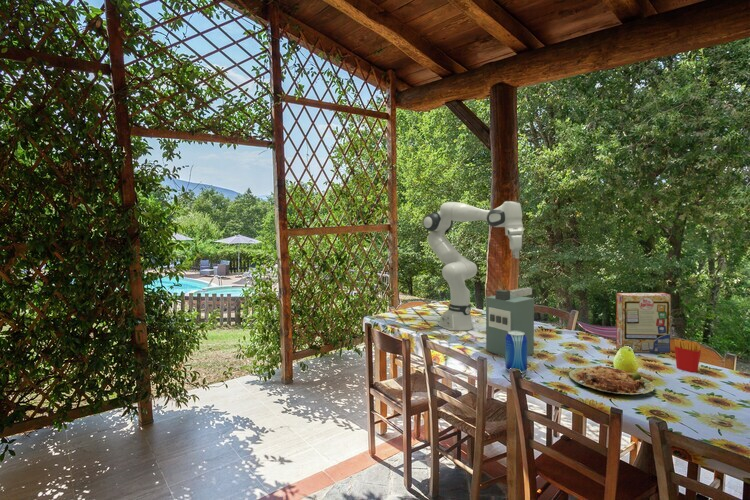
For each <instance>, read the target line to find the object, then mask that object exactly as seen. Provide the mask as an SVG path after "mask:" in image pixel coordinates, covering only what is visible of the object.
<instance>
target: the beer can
mask: <svg viewBox="0 0 750 500" xmlns="http://www.w3.org/2000/svg"><path fill="white" fill-rule="evenodd" d="M504 358H505V359H504V361H505V363H504V364H505V366H504V367H505V369H506V370H507V372H509V369H510V368H518V369H520V370H521V372H522V374H521V375H523V374H525V373H526V371H527V370H528V356H527V338H526V336H525V333H524V332H521V331H509V332H508V334H507V336H506V337H505V357H504Z"/></svg>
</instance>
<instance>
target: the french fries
mask: <svg viewBox="0 0 750 500" xmlns="http://www.w3.org/2000/svg"><path fill="white" fill-rule="evenodd" d="M673 341H674V344H675V346H674V353H675V354H674V355H675V364H676V369H678V370H681V371H685V372H689V373H695V374H696V373H698V371H699V365H700V358H701V353H702V350H701V343H700V344H699V343H697V342H696V341H690V340H686V339H685V340H682V339H681V338H680V339H675V338H674V340H673Z"/></svg>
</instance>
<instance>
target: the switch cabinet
mask: <svg viewBox="0 0 750 500" xmlns="http://www.w3.org/2000/svg"><path fill="white" fill-rule="evenodd" d="M485 310H486V311H485V326H486V327H485V328H486V329H485V330H486V331H485V332H486V333H485V339H486V340H485V341H486V342H485V343H486V344H485V346H486V348H485V349H486V350H485V351H487V352H489V353H492V354H495V355H498V356H501V357H504V358H505V337H506V336H507V334H508V332H509V331H521V332H524V333H525V336H526V338H527V357H528V356H530V355H533V354H534V353H535V345H534V344H535V343H534V342H535V298H533V297H528V296H521V297H516V298H511V299H510V300H505V301H504V300H499V299H495V295H491V296H490V295H489V296H485Z"/></svg>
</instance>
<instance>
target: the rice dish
mask: <svg viewBox="0 0 750 500" xmlns="http://www.w3.org/2000/svg"><path fill="white" fill-rule="evenodd" d="M568 376H569V378H571V379H572V380H573V381H574V382H576V383H578V384H580V385H583V386H585V387H588V388H589V389H594V390H597V391H601V392H604V393H605V392H606V393H610V394H616V395H617V394H619V395H620V394H621V395H631V396H632V395H640V394H641V395H642V394H644V395H645V394H648V393H649V394H650V393H651V392H653V391H655V384H654V383H653V382H652V381H650V379H647V378H645V377H643V376H641V374H640V373H637V372H629V371H625V370H622V369H621V368H614V367H609V366H602V365H596V366H588V367H578V368H577V367H576V368H574V369H571V370H568ZM581 381H582V382H581ZM642 390H643V391H642Z"/></svg>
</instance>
